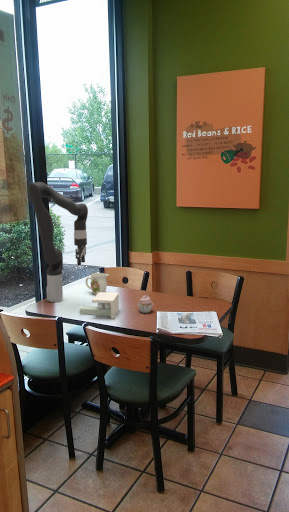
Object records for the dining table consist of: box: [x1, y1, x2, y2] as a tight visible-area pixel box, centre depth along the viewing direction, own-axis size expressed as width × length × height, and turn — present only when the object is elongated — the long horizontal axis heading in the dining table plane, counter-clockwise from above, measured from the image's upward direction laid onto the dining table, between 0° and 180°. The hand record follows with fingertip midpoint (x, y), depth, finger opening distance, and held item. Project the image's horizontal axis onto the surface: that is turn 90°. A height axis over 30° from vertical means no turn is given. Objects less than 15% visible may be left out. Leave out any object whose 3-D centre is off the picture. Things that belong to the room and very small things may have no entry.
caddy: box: [79, 303, 111, 317], centre depth 239 cm, size 18×6×6 cm, turn 82°
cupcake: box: [137, 295, 154, 314], centre depth 242 cm, size 9×9×10 cm
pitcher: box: [85, 272, 110, 296], centre depth 279 cm, size 11×18×14 cm, turn 68°
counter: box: [91, 291, 120, 320], centre depth 238 cm, size 12×16×10 cm
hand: (81, 263), depth 250 cm, fingers open, 8 cm apart
